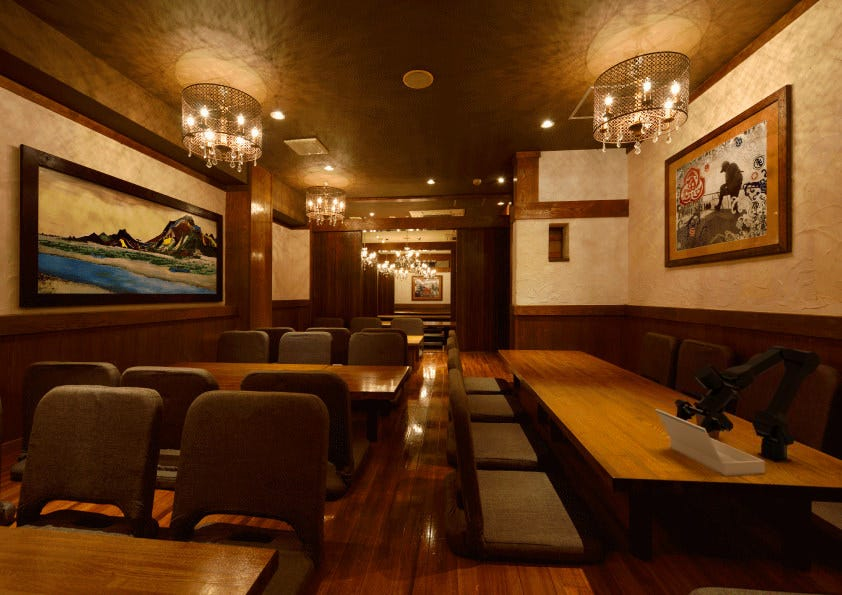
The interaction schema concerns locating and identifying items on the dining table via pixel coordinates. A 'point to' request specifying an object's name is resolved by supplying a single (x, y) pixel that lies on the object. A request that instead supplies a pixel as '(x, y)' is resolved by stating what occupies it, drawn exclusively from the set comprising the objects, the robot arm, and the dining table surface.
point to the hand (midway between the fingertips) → (685, 432)
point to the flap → (688, 434)
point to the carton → (723, 459)
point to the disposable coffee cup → (712, 434)
